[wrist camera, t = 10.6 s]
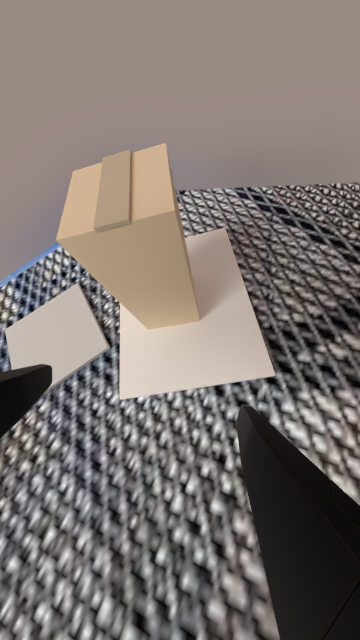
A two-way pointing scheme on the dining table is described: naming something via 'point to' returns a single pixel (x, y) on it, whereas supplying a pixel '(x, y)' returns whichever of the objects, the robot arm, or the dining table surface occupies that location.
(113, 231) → the kraft carton
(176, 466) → the dining table surface
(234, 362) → the off-white pad
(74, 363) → the grey mat
